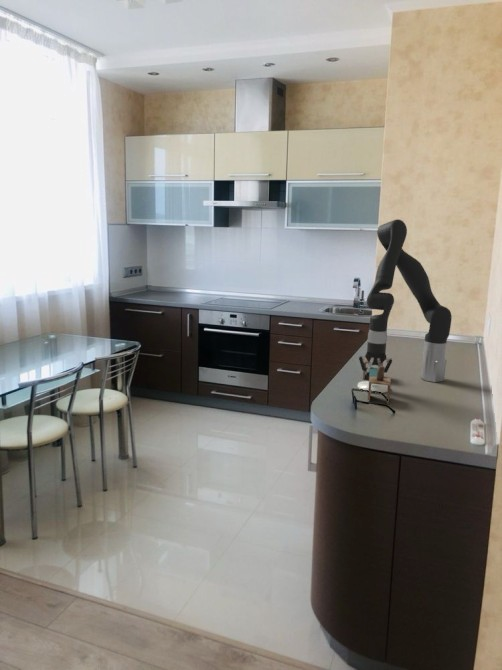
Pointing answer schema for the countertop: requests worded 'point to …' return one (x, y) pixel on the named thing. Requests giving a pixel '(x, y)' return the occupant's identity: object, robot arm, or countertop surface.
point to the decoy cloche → (380, 381)
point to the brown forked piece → (365, 366)
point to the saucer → (372, 386)
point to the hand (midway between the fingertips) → (373, 380)
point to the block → (373, 372)
